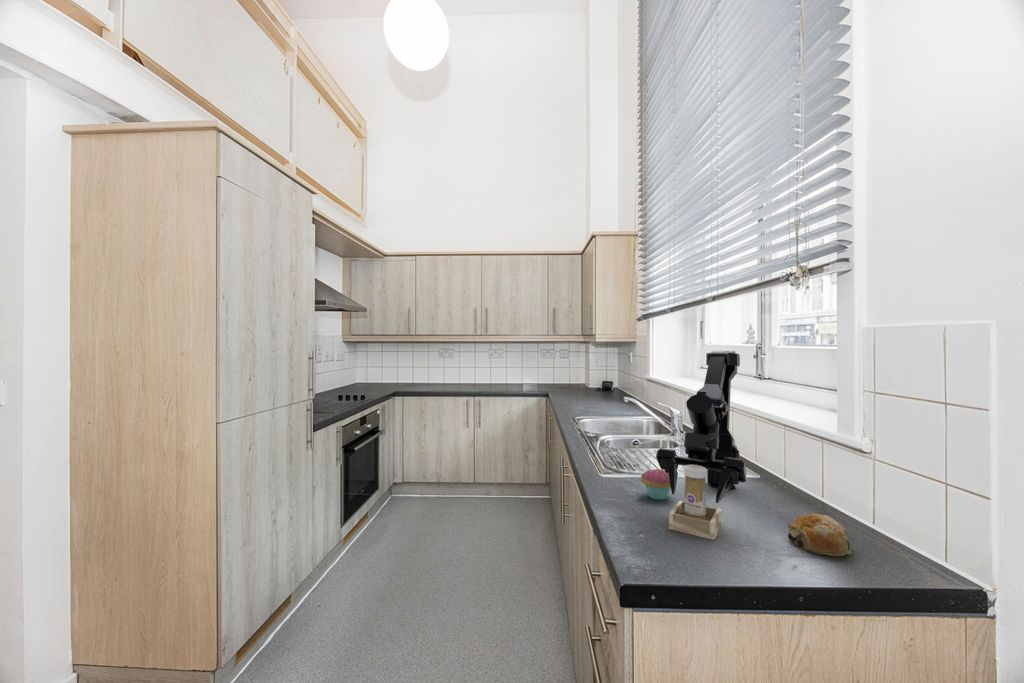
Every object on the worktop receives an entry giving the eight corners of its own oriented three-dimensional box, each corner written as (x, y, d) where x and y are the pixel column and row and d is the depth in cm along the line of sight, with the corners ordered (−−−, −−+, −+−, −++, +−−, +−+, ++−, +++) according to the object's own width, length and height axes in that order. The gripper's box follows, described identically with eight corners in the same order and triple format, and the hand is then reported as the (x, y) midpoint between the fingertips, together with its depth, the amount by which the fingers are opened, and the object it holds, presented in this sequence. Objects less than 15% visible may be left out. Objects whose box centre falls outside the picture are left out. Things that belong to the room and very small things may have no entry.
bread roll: (842, 580, 80) (865, 546, 78) (783, 544, 85) (804, 512, 83) (835, 557, 88) (856, 526, 87) (783, 526, 93) (801, 496, 92)
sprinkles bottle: (682, 528, 94) (681, 467, 94) (687, 520, 98) (686, 462, 98) (704, 533, 92) (704, 471, 92) (708, 525, 95) (708, 466, 95)
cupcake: (669, 491, 117) (669, 448, 117) (678, 503, 109) (678, 456, 109) (638, 490, 118) (637, 447, 118) (644, 502, 110) (644, 455, 110)
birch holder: (679, 515, 101) (679, 500, 101) (721, 524, 96) (721, 509, 96) (669, 529, 94) (669, 513, 94) (714, 540, 89) (713, 523, 89)
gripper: (657, 414, 104) (643, 471, 95) (744, 422, 93) (737, 487, 84) (667, 441, 110) (654, 496, 101) (749, 451, 99) (743, 514, 90)
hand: (694, 497), depth 94 cm, fingers open, 9 cm apart
